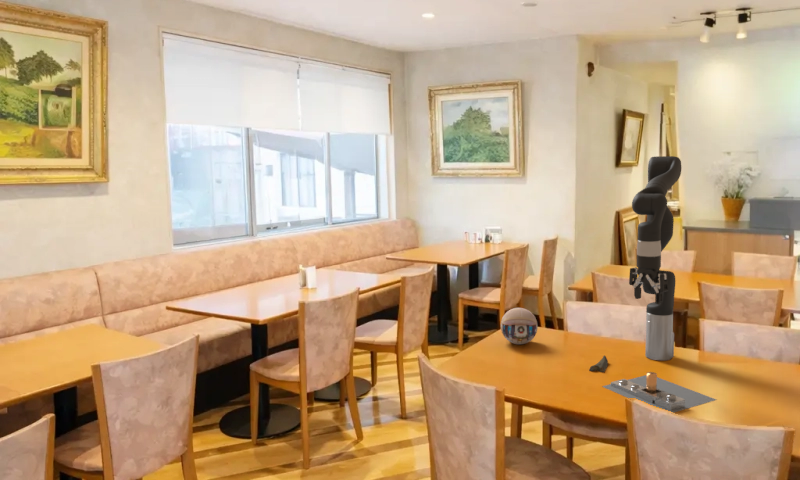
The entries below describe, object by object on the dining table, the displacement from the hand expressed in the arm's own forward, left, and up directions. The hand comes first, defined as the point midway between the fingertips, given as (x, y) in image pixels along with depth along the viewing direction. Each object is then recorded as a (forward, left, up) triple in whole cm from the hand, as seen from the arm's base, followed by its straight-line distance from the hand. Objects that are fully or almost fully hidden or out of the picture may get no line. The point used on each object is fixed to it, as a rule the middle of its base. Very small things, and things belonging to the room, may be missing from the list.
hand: (648, 300), depth 206 cm
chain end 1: (+12, +7, -27) cm, 31 cm away
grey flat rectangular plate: (+7, +11, -28) cm, 30 cm away
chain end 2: (+12, +16, -27) cm, 34 cm away
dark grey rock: (+5, -17, -28) cm, 33 cm away
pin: (+12, +13, -27) cm, 32 cm away
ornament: (+12, -55, -28) cm, 63 cm away
